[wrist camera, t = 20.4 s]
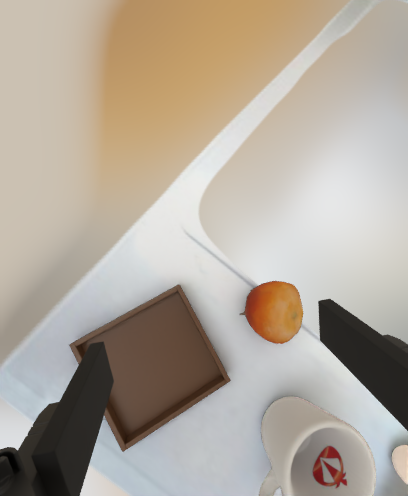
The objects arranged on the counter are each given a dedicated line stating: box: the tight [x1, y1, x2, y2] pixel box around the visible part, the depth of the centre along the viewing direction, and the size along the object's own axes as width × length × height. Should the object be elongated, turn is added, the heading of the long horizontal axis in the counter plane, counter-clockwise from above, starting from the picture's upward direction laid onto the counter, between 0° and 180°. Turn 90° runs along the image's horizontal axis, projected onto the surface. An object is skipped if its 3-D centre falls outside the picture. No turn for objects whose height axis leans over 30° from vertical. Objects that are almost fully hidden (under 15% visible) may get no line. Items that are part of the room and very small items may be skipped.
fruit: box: [240, 281, 303, 344], centre depth 36 cm, size 8×8×8 cm
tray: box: [70, 285, 231, 452], centre depth 35 cm, size 15×14×2 cm
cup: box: [259, 396, 376, 496], centre depth 32 cm, size 14×10×10 cm
